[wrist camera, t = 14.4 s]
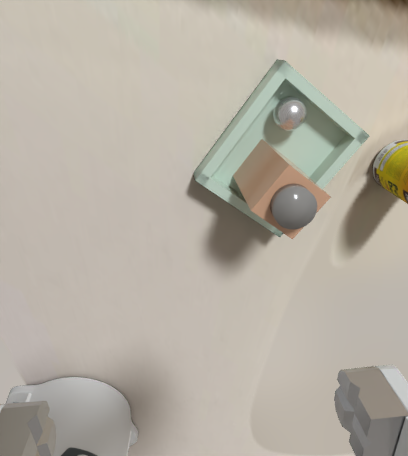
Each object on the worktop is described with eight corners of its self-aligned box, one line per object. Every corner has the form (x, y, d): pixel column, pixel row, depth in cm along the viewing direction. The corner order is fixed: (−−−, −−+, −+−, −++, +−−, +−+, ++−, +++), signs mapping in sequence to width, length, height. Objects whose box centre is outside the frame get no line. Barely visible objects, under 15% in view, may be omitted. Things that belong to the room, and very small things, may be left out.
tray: (273, 227, 41) (279, 237, 39) (193, 172, 38) (195, 180, 36) (357, 130, 37) (369, 135, 35) (276, 59, 34) (284, 60, 32)
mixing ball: (286, 133, 36) (295, 140, 34) (263, 115, 35) (271, 120, 33) (307, 107, 35) (318, 112, 33) (284, 88, 34) (294, 91, 32)
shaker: (266, 199, 39) (296, 246, 30) (232, 175, 38) (254, 216, 29) (295, 165, 38) (337, 202, 29) (261, 138, 36) (294, 169, 27)
